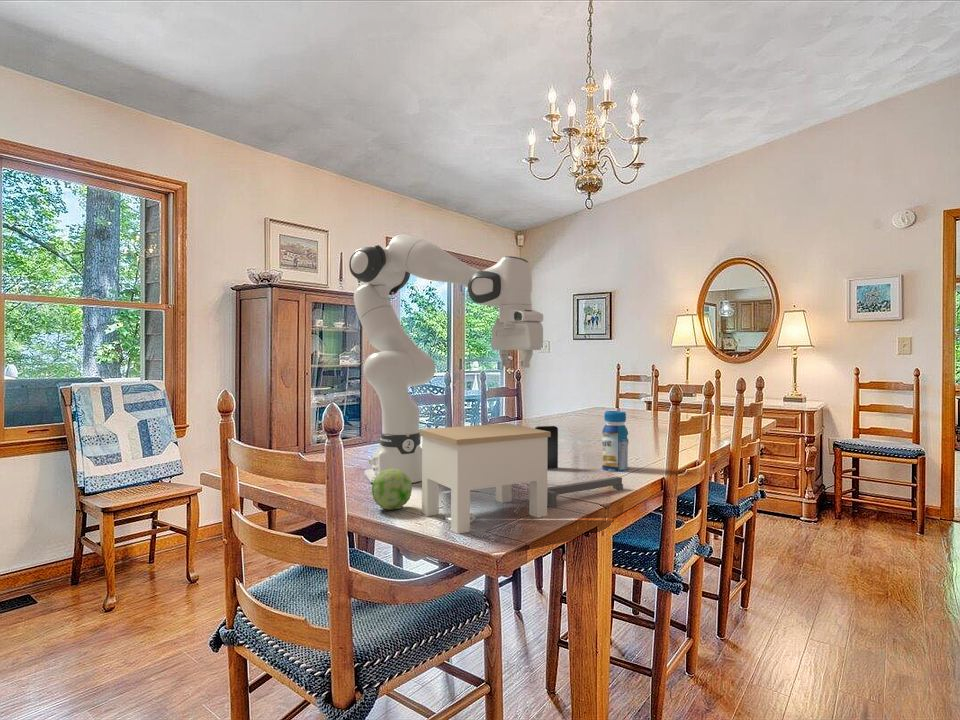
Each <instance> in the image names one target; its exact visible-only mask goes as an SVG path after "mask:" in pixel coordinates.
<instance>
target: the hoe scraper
mask: <svg viewBox="0 0 960 720" xmlns="http://www.w3.org/2000/svg"><path fill="white" fill-rule="evenodd" d="M606 487H607V488H608V487H612V490H617V491H623V490H624V484H623V477H621V476H613V477H607V478H606V477H605V478H600V479H593V480H587V481H581V482H575V483H568V484H561V485H557V486H556V485H555V486H547V506H548V507H547V508H551V509H554V507H555V508H557V505H558V504H557V499H558V497H557V496H558V495H559V496H560V495H565V494H570V493H577V492H582V491H589V490H596V489H600V488H606Z"/></svg>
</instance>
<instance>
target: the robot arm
mask: <svg viewBox="0 0 960 720" xmlns="http://www.w3.org/2000/svg"><path fill="white" fill-rule="evenodd" d="M348 266H349V271H350V273H351V275H352V276H353V277H354V278H355V279H356V280H358V281H360V282H362V285H360V286H358V287H357V289H355V292H354V293H353V301H354V303H353V304H354V307H355V310H356V314H357V317H358V320H359V321H360V324H361V326H362V329H363V331H364V334H365V336H366V338H367V341H368V342H369V344H370V345H371V346H372V347H373V348H375V349H377V351H378V352H374V353H371V354H369V356H368V357H367V358H366V360H365V361H364V364H363V375H364V379H365V381H366V382H368V384H369V385H371V387H372V388H373V389H374V392H375V393H376V395H377V396H378V400H379V403H380V407H381V424H382V425H381V426H382V429H381V431H382V432H381V433H380V436H379V447H378V448H377V449H376V451H375V452H374V453H373V455H371V456H372V457H369V458H368V466H371V468H368V469H366V470H365V469H364V475H365V477H366V478H367V479H368V481H369V482H370V483H372V484H373V482H374V479H375V478H376V476H377V475H379V474H380V473H381V472H382V471H384V470H387V469H398V470H401V471H402V472H404V473H405V474H406V475H407V476H408V477H409V479H410V480H411V484H412V483H413V484H414V483H419V482H422V446H420V445H421V444H422V441H421V440H422V435H420V434H419V429H420V407H419V406H418V404H417V403H416V402H415V401H413V400H412V398H411V396H410V393H409V389H408V387H409V388H410V387H419V386H421V385H424V384H427V383H429V382H430V381H431V380H432V379H433V378H434V376H435V373H436V364H435V361H434V359H433V357H431V356H430V355H429V354H428V353H426V352H425V351H423V350H422V349H421V348H420V347H419V346H418V345H417V344H416V343H415V342H414V341H413V340H412V339H411V338H410V336H409V335H408V334H407V332H406V331H405V329H404V328H403V326H402V324H401V322H400V321H399V318H398V315H397V314H396V312H395V309H394V307H393V304H392V303H391V301H390V298H389V297H390V296H392V295H396V294H397V293H398V291H399V290H401V289H403V288H404V287H405V286H406V285H407V283H408V281H409V280H410V277H411V276H412V275H413V276H415V277H417V278H420V279H424V280H428V281H434V282H443V283H449V284H450V283H451V284H456V285H461V286H463V287H465V288H467V293H468V297H469V298H470V300H471V301H473V302H474V303H475V304H478V305H481V306H487V307H493V308H498V310H499V311H498V313H499V315H498V317H499V318H496V320H495V322H494V325H493V326H492V329H491V336H490V337H491V338H490V340H491V341H490V346H491V347H490V348H491V349H492V350H493V351H498V355H499V358H500V360H501V367H503V368H504V367H505V368H508V367H510V366H511V365H510V364H511V360H509V358H508V354H509V351H522V354H523V358H522V360H521V361H520V368H524V369H525V368H527V369H528V368H530V365H531V364H530V363H531V360H532V356H533V352H534V351H541V349H542V348H543V344H544V327H543V324H542V322H543V321H544V314H543V313H542V312H539V311H536V310H535V309H533V305H532V304H533V303H532V301H531V295H532V294H531V293H532V291H533V289H532V288H533V282H532V281H533V280H532V279H533V278H532V277H533V276H532V269H531V265H530V262H529V261H528V260H527V259H525V258H522V257H518V256H509V255H507V256H506V255H505V256H502V257H501V259H500V260H499V261H498V262H497V263H495V264H494V265H492V266H490V267H487V268H485V269H483V270H481V269H478V268H476V267H474V266H472V265H469V264H467V263H465V262H464V261H462V260H460V259H458V258H457V257H455V256H453V255H452V254H451V253H449V252H448V251H446V250H444V249H443V248H441V247H439V246H438V245H436V244H435V243H433V242H431V241H429V240H426V239H424V238H420V237H418V236H414V235H412V234H411V235H410V234H403V233H401V234H398V235H395V236H393V237H392V239H391V240H390V241H389V242H388V246H386V247H382V246H381V245H379V244H378V245H376V244H375V245H373V246H363V247H360V248H358V249H356V250H355V251H354V252H352V255H351V256H350V258H349V262H348Z"/></svg>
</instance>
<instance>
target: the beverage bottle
mask: <svg viewBox="0 0 960 720" xmlns="http://www.w3.org/2000/svg"><path fill="white" fill-rule="evenodd" d="M604 422H605V423H606V424H605V425H604V426H603V428H602V430H601V431H602V432H601V434H602V438H601V444H602V463H601V464H602V467H601V469H602V470H604V471H606V472H613V473H615V472H616V473H619V472H627V471H628V470H629V468H628V466H629V464H628V461H629V460H628V459H629V456H628V455H629V454H628V452H629V438H628V435H629V431H628V428H627V427H626V425H625V423H626V422H627V414H626V411H621V410H607V411H604Z"/></svg>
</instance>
